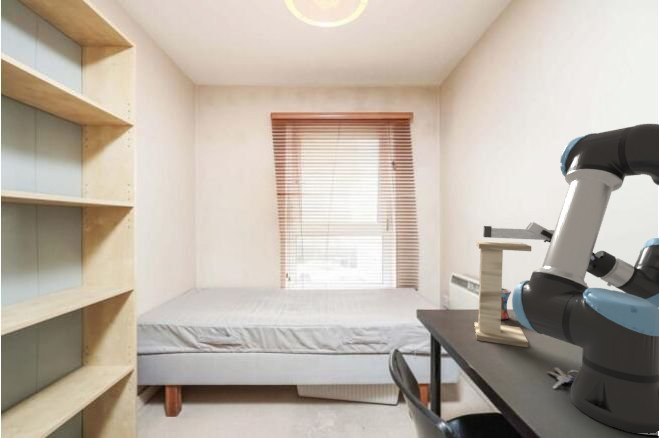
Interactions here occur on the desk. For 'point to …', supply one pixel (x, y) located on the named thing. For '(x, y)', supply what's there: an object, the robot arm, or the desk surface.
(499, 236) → the metal block
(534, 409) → the desk surface
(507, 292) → the multicoloured narrow piece
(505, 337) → the birch stand
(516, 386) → the desk surface
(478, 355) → the desk surface
